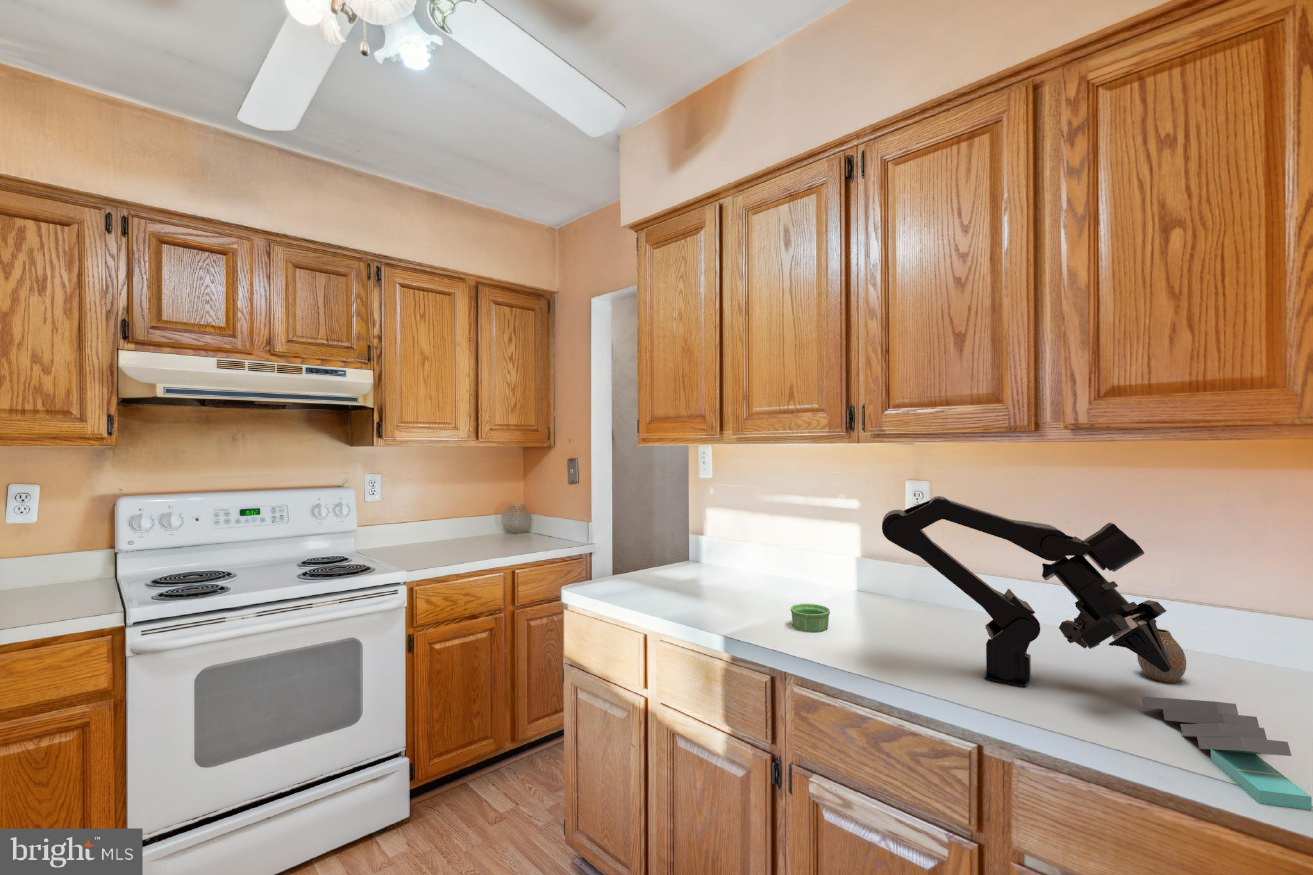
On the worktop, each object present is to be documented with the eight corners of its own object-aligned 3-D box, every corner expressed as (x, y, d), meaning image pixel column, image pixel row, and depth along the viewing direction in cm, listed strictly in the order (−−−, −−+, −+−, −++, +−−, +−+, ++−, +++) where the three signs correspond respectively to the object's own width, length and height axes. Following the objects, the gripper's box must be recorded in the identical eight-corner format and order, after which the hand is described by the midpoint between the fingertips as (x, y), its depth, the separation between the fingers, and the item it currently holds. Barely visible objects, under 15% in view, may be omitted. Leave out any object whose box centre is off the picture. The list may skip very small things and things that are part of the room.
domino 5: (1210, 748, 83) (1259, 790, 74) (1255, 754, 82) (1311, 796, 72) (1210, 760, 83) (1259, 803, 74) (1255, 766, 82) (1311, 810, 72)
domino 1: (1141, 696, 97) (1216, 701, 88) (1160, 698, 99) (1235, 703, 90) (1143, 707, 97) (1218, 713, 88) (1162, 709, 98) (1238, 715, 90)
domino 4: (1196, 736, 86) (1239, 736, 78) (1239, 740, 85) (1287, 741, 76) (1199, 748, 86) (1243, 750, 77) (1242, 753, 84) (1291, 756, 76)
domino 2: (1162, 708, 94) (1221, 713, 85) (1194, 711, 94) (1256, 716, 85) (1164, 720, 93) (1224, 725, 84) (1196, 723, 94) (1259, 729, 84)
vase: (1163, 670, 114) (1163, 623, 114) (1197, 685, 107) (1196, 636, 107) (1127, 671, 114) (1127, 624, 114) (1159, 686, 107) (1159, 637, 107)
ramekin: (782, 625, 144) (782, 606, 144) (811, 619, 148) (811, 601, 148) (808, 636, 136) (808, 616, 136) (838, 629, 140) (838, 610, 140)
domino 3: (1180, 724, 90) (1218, 723, 82) (1220, 728, 89) (1263, 727, 80) (1182, 736, 90) (1221, 736, 81) (1223, 740, 88) (1267, 741, 80)
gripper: (1078, 603, 115) (1149, 681, 106) (1027, 620, 105) (1100, 707, 96) (1127, 570, 109) (1207, 649, 99) (1077, 584, 99) (1161, 674, 89)
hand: (1168, 670), depth 96 cm, fingers closed
